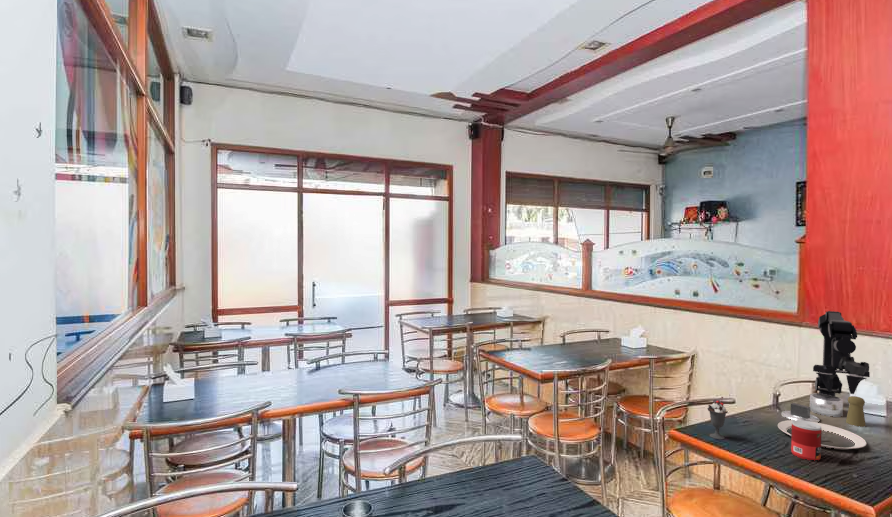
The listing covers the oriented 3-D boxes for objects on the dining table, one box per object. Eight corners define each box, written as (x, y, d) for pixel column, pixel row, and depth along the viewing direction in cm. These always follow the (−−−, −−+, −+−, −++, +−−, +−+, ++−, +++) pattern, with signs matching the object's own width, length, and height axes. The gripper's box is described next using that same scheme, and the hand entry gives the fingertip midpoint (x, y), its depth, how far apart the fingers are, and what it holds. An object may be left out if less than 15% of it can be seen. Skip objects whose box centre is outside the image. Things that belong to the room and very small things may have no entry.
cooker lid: (789, 411, 199) (789, 398, 199) (824, 420, 188) (825, 407, 188) (775, 416, 192) (776, 403, 192) (811, 426, 182) (812, 412, 181)
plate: (773, 438, 169) (773, 433, 169) (782, 420, 188) (782, 415, 188) (866, 460, 152) (866, 454, 152) (866, 437, 170) (866, 432, 170)
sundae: (729, 436, 170) (730, 397, 170) (725, 442, 165) (726, 401, 165) (709, 431, 174) (710, 393, 174) (704, 436, 169) (705, 397, 169)
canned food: (822, 463, 149) (823, 430, 149) (792, 457, 153) (793, 425, 153) (818, 454, 155) (819, 422, 155) (789, 449, 160) (790, 418, 159)
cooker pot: (815, 406, 204) (816, 391, 204) (846, 414, 195) (847, 398, 194) (805, 410, 198) (805, 395, 198) (836, 418, 189) (837, 403, 189)
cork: (870, 426, 181) (870, 399, 180) (854, 426, 181) (855, 399, 180) (856, 421, 187) (857, 394, 186) (841, 420, 187) (842, 394, 186)
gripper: (837, 353, 172) (837, 395, 170) (883, 357, 173) (884, 399, 171) (812, 350, 183) (811, 389, 181) (855, 354, 184) (855, 393, 182)
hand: (841, 393), depth 179 cm, fingers open, 9 cm apart
